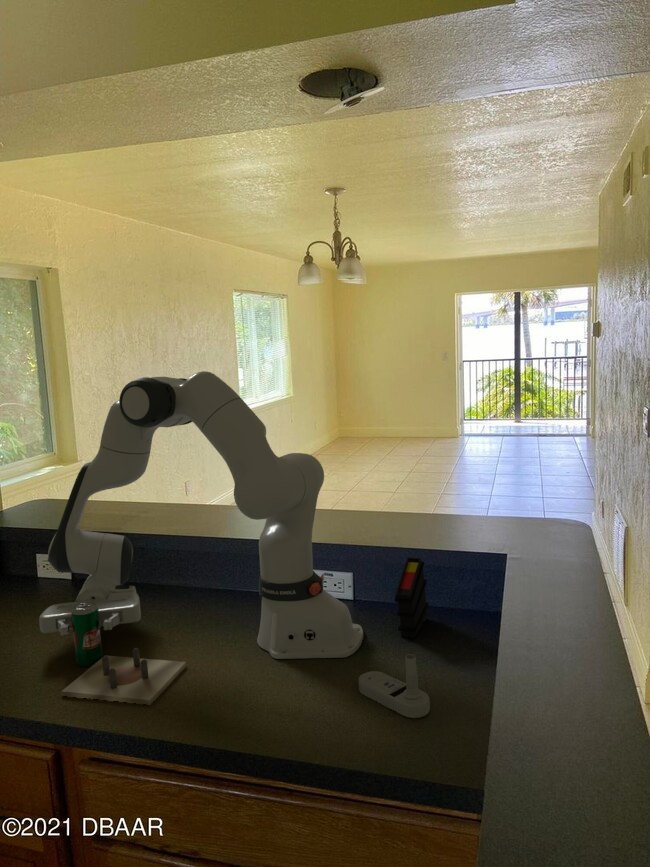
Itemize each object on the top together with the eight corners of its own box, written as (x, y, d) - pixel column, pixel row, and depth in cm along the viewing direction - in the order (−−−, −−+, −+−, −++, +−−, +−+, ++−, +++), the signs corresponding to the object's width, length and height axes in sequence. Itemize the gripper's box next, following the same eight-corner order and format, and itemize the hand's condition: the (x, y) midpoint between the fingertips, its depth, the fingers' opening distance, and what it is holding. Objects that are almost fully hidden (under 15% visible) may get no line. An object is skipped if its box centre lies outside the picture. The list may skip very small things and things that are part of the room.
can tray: (186, 666, 128) (184, 644, 128) (150, 705, 115) (148, 680, 114) (105, 660, 133) (103, 638, 132) (62, 696, 119) (59, 672, 119)
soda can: (87, 669, 129) (81, 612, 127) (71, 664, 132) (65, 607, 130) (108, 658, 133) (102, 602, 132) (91, 653, 136) (86, 598, 134)
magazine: (431, 605, 148) (423, 557, 140) (419, 653, 137) (409, 603, 130) (415, 604, 149) (406, 556, 141) (402, 650, 139) (391, 601, 131)
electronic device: (371, 630, 119) (433, 655, 107) (374, 681, 120) (436, 711, 109) (349, 640, 116) (411, 667, 104) (353, 692, 117) (414, 724, 105)
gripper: (45, 595, 142) (29, 621, 128) (142, 584, 146) (136, 608, 132) (48, 623, 143) (32, 651, 129) (144, 611, 146) (138, 637, 133)
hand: (85, 629), depth 131 cm, fingers open, 7 cm apart
